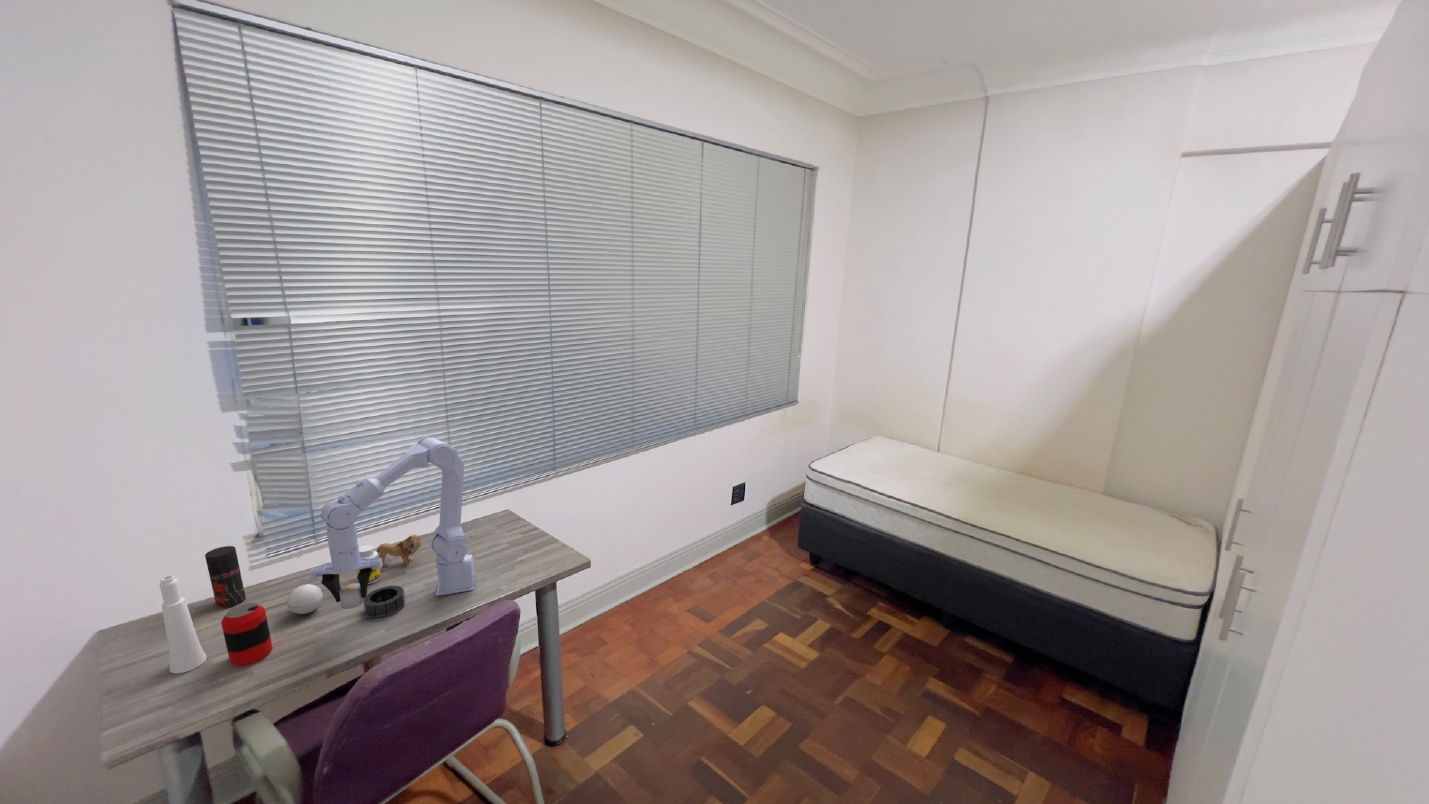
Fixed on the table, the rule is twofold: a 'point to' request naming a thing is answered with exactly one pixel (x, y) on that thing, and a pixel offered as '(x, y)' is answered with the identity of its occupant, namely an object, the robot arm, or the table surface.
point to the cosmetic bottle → (179, 629)
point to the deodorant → (225, 577)
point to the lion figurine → (400, 549)
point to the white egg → (304, 599)
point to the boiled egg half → (350, 596)
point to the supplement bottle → (370, 553)
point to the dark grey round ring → (384, 601)
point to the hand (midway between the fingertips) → (352, 597)
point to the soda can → (246, 634)
